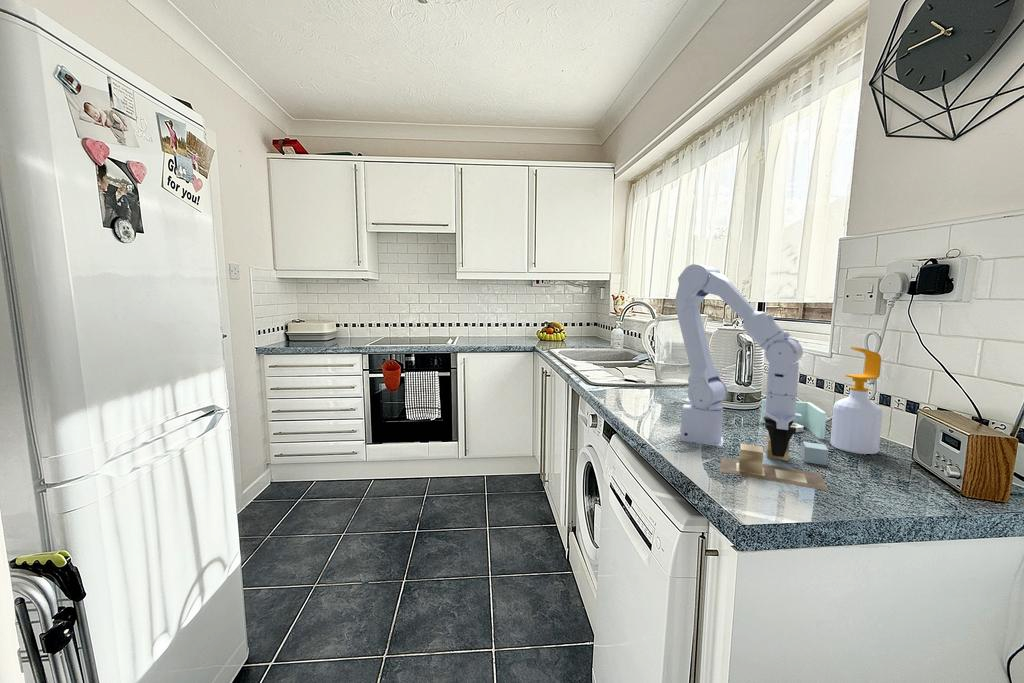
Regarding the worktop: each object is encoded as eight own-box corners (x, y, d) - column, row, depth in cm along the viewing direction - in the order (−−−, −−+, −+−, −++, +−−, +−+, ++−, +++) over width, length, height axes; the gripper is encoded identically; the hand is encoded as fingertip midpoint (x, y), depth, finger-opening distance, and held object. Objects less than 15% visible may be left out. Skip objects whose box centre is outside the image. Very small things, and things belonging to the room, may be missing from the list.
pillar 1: (739, 470, 86) (740, 449, 86) (739, 464, 90) (740, 443, 89) (761, 474, 85) (763, 452, 84) (760, 467, 88) (762, 446, 88)
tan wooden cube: (766, 460, 94) (768, 440, 94) (765, 454, 98) (767, 435, 97) (788, 463, 92) (789, 443, 92) (786, 457, 96) (787, 438, 95)
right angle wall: (760, 424, 124) (762, 399, 123) (808, 428, 120) (810, 402, 119) (770, 436, 113) (772, 408, 112) (824, 441, 109) (826, 412, 108)
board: (719, 474, 86) (719, 471, 86) (721, 459, 94) (721, 457, 94) (828, 493, 77) (828, 490, 77) (820, 476, 85) (820, 473, 85)
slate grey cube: (804, 464, 92) (805, 446, 91) (801, 458, 95) (802, 441, 95) (826, 468, 90) (828, 450, 89) (823, 462, 93) (824, 444, 93)
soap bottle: (821, 442, 106) (829, 345, 104) (858, 442, 106) (867, 345, 104) (848, 455, 98) (857, 349, 95) (889, 455, 97) (899, 349, 95)
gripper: (808, 401, 85) (803, 467, 86) (798, 388, 98) (794, 445, 99) (767, 397, 88) (763, 460, 90) (763, 385, 101) (759, 440, 102)
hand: (777, 452), depth 95 cm, fingers closed on tan wooden cube, 4 cm apart
